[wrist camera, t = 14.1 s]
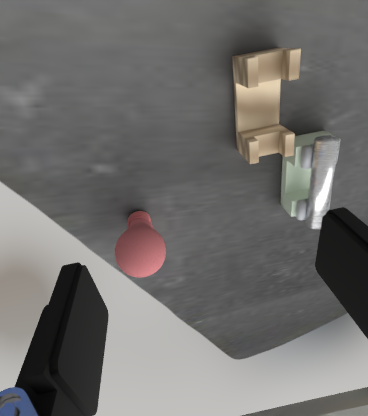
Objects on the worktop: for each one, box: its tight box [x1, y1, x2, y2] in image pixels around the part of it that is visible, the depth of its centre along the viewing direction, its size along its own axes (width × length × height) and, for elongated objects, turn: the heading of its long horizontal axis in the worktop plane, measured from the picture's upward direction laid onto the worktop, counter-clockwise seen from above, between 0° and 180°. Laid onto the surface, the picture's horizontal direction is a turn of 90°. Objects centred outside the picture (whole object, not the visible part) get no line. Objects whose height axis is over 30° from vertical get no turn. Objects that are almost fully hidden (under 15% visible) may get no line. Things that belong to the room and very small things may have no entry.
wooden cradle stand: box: [232, 48, 301, 164], centre depth 35 cm, size 12×6×6 cm, turn 9°
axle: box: [305, 135, 340, 229], centre depth 39 cm, size 14×3×3 cm, turn 9°
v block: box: [281, 131, 340, 220], centre depth 42 cm, size 12×6×5 cm, turn 9°
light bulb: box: [115, 211, 166, 277], centre depth 40 cm, size 7×7×12 cm
